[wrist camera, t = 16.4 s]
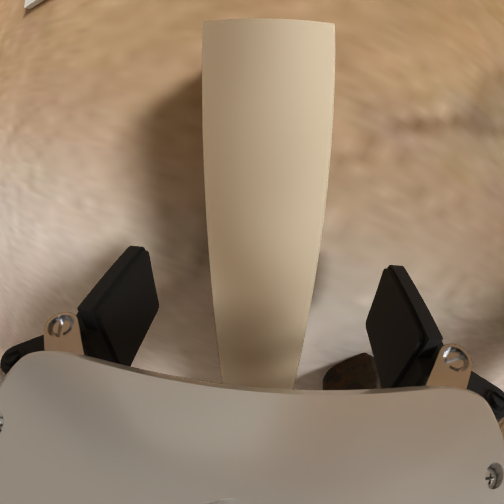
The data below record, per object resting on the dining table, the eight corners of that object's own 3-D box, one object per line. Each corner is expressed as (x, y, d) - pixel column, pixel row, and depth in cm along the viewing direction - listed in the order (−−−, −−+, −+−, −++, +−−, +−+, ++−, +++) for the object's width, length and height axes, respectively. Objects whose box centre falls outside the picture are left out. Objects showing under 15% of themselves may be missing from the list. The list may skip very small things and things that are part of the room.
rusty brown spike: (316, 366, 17) (318, 427, 13) (370, 343, 16) (384, 405, 12) (388, 435, 24) (393, 469, 20) (420, 423, 22) (427, 456, 18)
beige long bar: (311, 57, 9) (334, 23, 4) (283, 370, 18) (281, 434, 13) (235, 54, 9) (202, 21, 5) (239, 366, 18) (229, 430, 14)
